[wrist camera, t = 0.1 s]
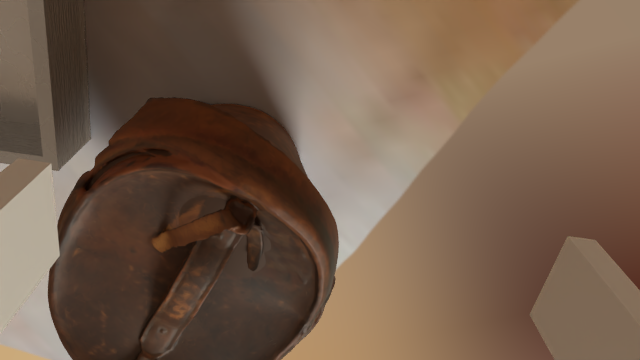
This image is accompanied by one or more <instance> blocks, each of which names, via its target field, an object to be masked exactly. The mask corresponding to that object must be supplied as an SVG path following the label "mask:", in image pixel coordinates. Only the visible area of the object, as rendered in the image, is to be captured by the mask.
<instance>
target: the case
mask: <svg viewBox="0 0 640 360" xmlns="http://www.w3.org/2000/svg"><path fill="white" fill-rule="evenodd" d="M57 230H58V241H59V252H60V256H59V257H58V259H57V260H56V261H55V263H54V264H53V265H52V267H51V268H50V271H49V281H48V302H49V308H50V312H51V317H52V320H53V323H54V325H55V328H56V331H57V333H58V336H59V338H60V340H61V342H62V344H63V346H64V347H65V349H66V351H67V352H68V354H69V355H70V357H71V358H72V359H73V360H281V359H282V358H283V357H284V356H285V355H286V354H287V353H289V352H290V351H291V350H292V349H293V348H294V347H295V346H296V345H297V344H298V343H299V342H300V341H301V340H302V339H303V338H304V337H306V336H307V335H308V334H309V333H310V332H311V330H312V329H313V328H314V327H315V325H316V324H317V323H318V321H319V319H320V318H321V316H322V313H323V310H324V307H325V304H326V302H327V301H328V299H329V297H330V294H331V292H332V289H333V287H334V284H335V276H334V275H335V270H336V264H337V258H338V248H339V241H338V230H337V225H336V222H335V219H334V217H333V215H332V213H331V211H330V209H329V207H328V205H327V204H326V202H325V201H324V199H323V198H322V196H321V195H320V193H319V192H318V191H317V189H316V188H315V187H314V186H313V184H312V183H311V181H310V180H309V179H308V177H307V175H306V172H305V170H304V168H303V165H302V163H301V161H300V158H299V155H298V152H297V150H296V147H295V145H294V143H293V141H292V139H291V138H290V136H289V134H288V133H287V132H286V130H285V129H284V128H283V127H282V126H281V125H280V124H279V123H278V122H277V121H276V120H275V119H273V118H272V117H271V116H269V115H268V114H266V113H264V112H262V111H260V110H257V109H255V108H251V107H247V106H243V105H236V104H213V105H210V104H207V103H204V102H201V101H196V100H191V99H183V98H150V99H148V101H147V102H146V104H145V105H144V106H143V107H142V108H141V109H140V110H139V111H138V112H137V113H136V114H135V116H134V117H133V118H132V119H131V120H129V121H128V122H127V123H125V124H124V125H123V126H122V127H121V128H120V129H119V130H118V131H116V133H115V134H114V135H113V137H112V138H111V139H110V140H109V146H108V147H107V148H105V149H104V150H103V151H102V152H101V153H99V154H98V156H97V157H96V158H95V166H94V168H93V169H92V170H91V171H87V172H85V173H84V174H83V175H82V176H81V177H80V178H79V180H78V181H77V183H76V185H75V187H74V189H73V190H72V192H71V194H70V195H69V197H68V199H67V201H66V203H65V205H64V207H63V209H62V212H61V214H60V217H59V220H58V225H57Z"/></svg>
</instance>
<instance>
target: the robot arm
mask: <svg viewBox="0 0 640 360" xmlns="http://www.w3.org/2000/svg"><path fill="white" fill-rule="evenodd" d="M59 256H60V252H59V241H58V230H57V219H56V208H55V197H54V186H53V176H52V165H51V163H48V162H41V161H34V160H27V159H20V158H18V159H16V160H15V161H14V162H13V163H12V164H10V165H9V166H8V167H7V168H5V169H4V170H3V171H2V172H0V334H1V333H2V331H3V330H4V329H5V328H6V326H7V325H8V324H9V322H10V321H11V320H12V318H13V317H14V316H15V314H16V313H17V312H18V310H19V309H20V308H21V306H22V305H23V304H24V302H25V301H26V300H27V298H28V297H29V296H30V294H31V293H32V292H33V290H34V289H35V288H36V286H37V285H38V284H39V282H40V281H41V280H42V278H43V277H44V276H45V275H46V273H47V272H48V271H49V269H50V268H51V267H52V265H53V264H54V263H55V261H56V260H57V259H58V257H59ZM530 316H531V318H532V320H533V321H534V323H535V325H536V327H537V329H538V331H539V332H540V334H541V336H542V338H543V340H544V341H545V343H546V345H547V347H548V349H549V351H550V352H551V354H552V356H553V358H554V359H555V360H640V291H639V289H638V288H637V287H636V286H635V285H634V284H633V282H632V281H631V280H630V279H629V278H628V277H627V276H626V274H625V273H624V272H623V271H622V270H621V269H620V268H619V267H618V265H617V264H616V263H615V262H614V261H613V260H612V259H611V257H610V256H609V255H608V254H607V253H606V252H605V251H604V249H603V248H602V247H601V246H600V245H599V244H598V243H597V242H596V240H591V239H584V238H577V237H570V236H568V237H567V239H566V241H565V243H564V245H563V247H562V249H561V251H560V253H559V255H558V258H557V260H556V262H555V264H554V266H553V268H552V270H551V272H550V274H549V276H548V278H547V280H546V282H545V284H544V286H543V288H542V290H541V292H540V294H539V297H538V299H537V301H536V303H535V305H534V307H533V309H532V311H531V313H530Z"/></svg>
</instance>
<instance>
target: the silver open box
mask: <svg viewBox="0 0 640 360" xmlns="http://www.w3.org/2000/svg"><path fill="white" fill-rule="evenodd" d="M90 139H91V129H90V110H89V90H88V71H87V52H86V33H85V13H84V0H0V163H5V164H12V163H13V162H14V161H15V160H16V159H18V158H20V159H27V160H34V161H41V162H48V163H51V165H52V170H56V171H59V170H60V169H61V168H62V167H63V166H64V165H65V164H66V163H67V162H68V161H69V160H70V159H71V158H72V157H73V156H74V155H75V154H76V153H77V152H78V151H79V150H80V149H81V148H82V147H83V146H84V145H85V144H86V143H87V142H88V141H89V140H90Z"/></svg>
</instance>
